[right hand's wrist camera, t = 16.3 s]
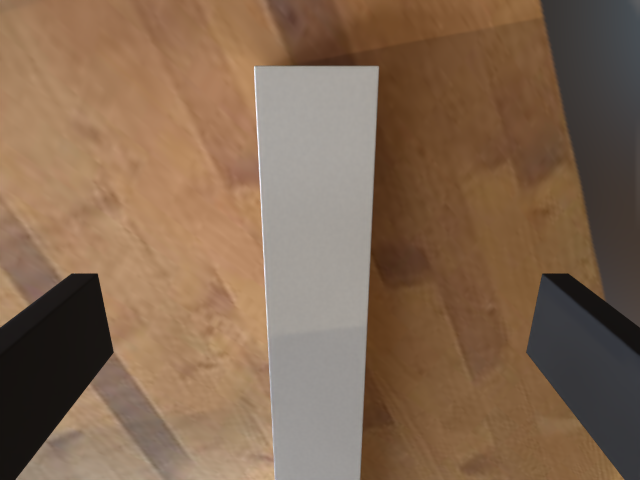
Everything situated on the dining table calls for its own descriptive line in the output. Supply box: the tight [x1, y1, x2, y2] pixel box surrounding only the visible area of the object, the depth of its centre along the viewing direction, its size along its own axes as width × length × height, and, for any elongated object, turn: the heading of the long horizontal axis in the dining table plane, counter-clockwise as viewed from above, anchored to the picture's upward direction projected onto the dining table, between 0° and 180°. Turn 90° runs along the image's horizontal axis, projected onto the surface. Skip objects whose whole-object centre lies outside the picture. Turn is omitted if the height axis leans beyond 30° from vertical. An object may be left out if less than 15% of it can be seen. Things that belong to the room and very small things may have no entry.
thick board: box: [254, 66, 379, 480], centre depth 45 cm, size 74×9×7 cm, turn 0°
